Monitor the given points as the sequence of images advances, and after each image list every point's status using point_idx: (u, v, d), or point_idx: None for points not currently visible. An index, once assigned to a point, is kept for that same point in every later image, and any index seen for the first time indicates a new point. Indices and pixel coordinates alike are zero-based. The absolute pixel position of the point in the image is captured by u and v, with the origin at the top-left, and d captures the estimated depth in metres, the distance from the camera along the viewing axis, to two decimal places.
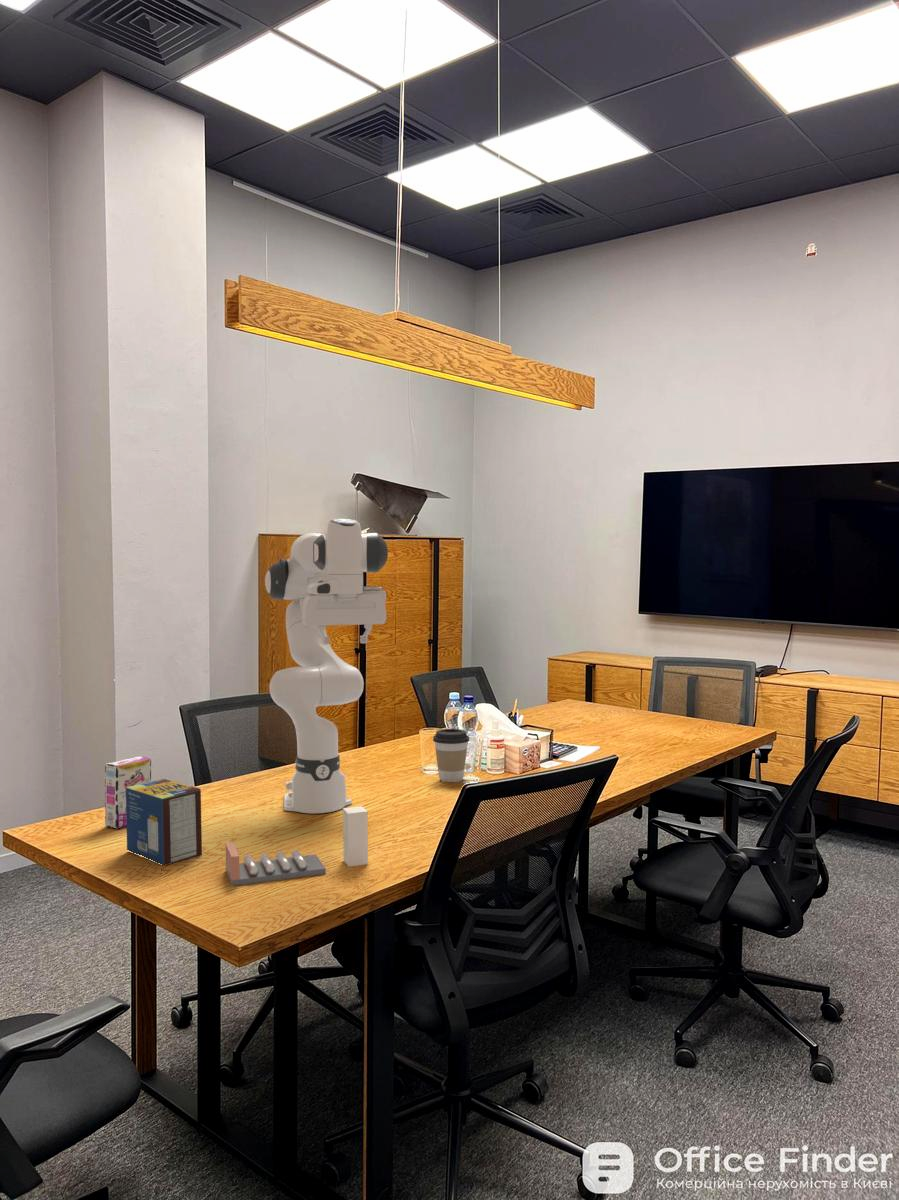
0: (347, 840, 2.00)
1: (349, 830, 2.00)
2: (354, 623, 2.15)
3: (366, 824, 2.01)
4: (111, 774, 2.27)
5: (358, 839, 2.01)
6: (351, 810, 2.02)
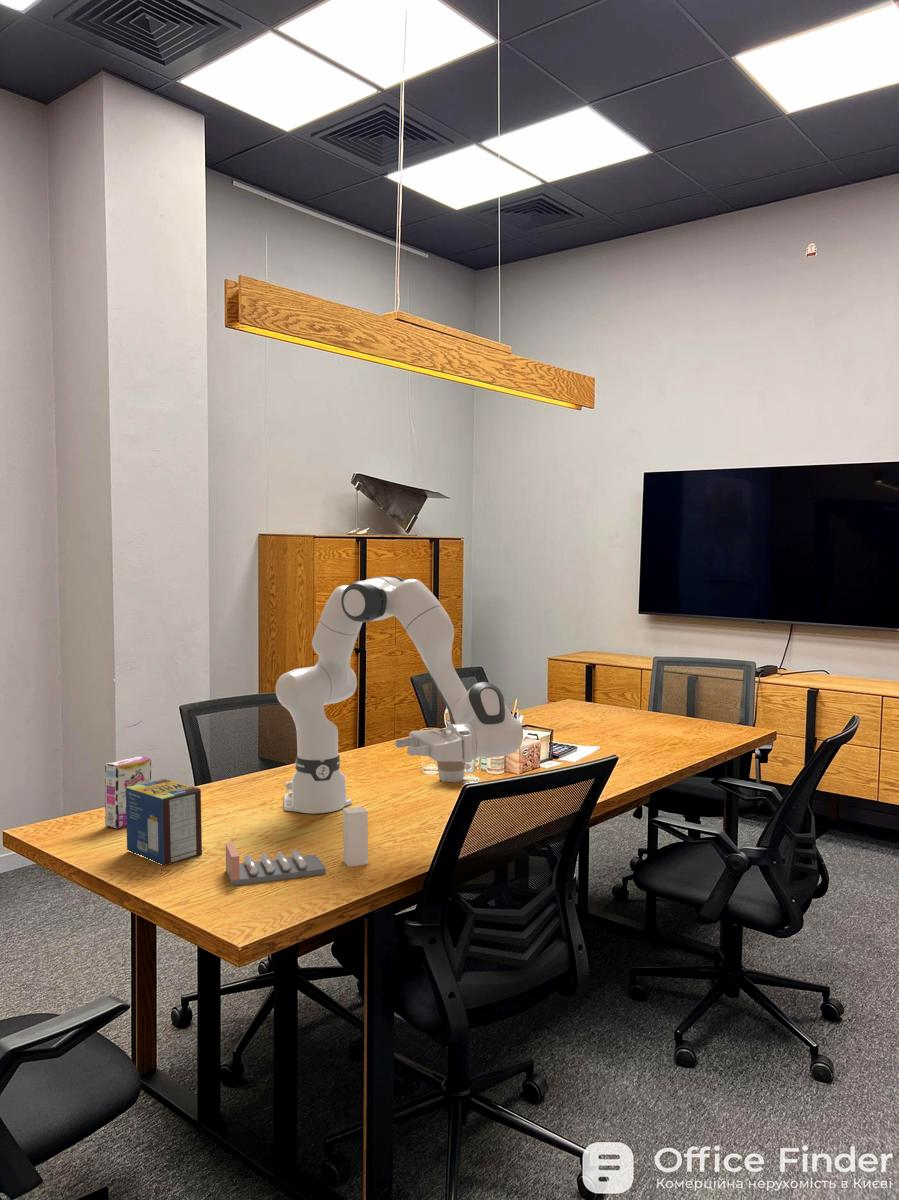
0: (347, 840, 2.00)
1: (349, 830, 2.00)
2: None
3: (366, 824, 2.01)
4: (111, 774, 2.27)
5: (358, 839, 2.01)
6: (351, 810, 2.02)
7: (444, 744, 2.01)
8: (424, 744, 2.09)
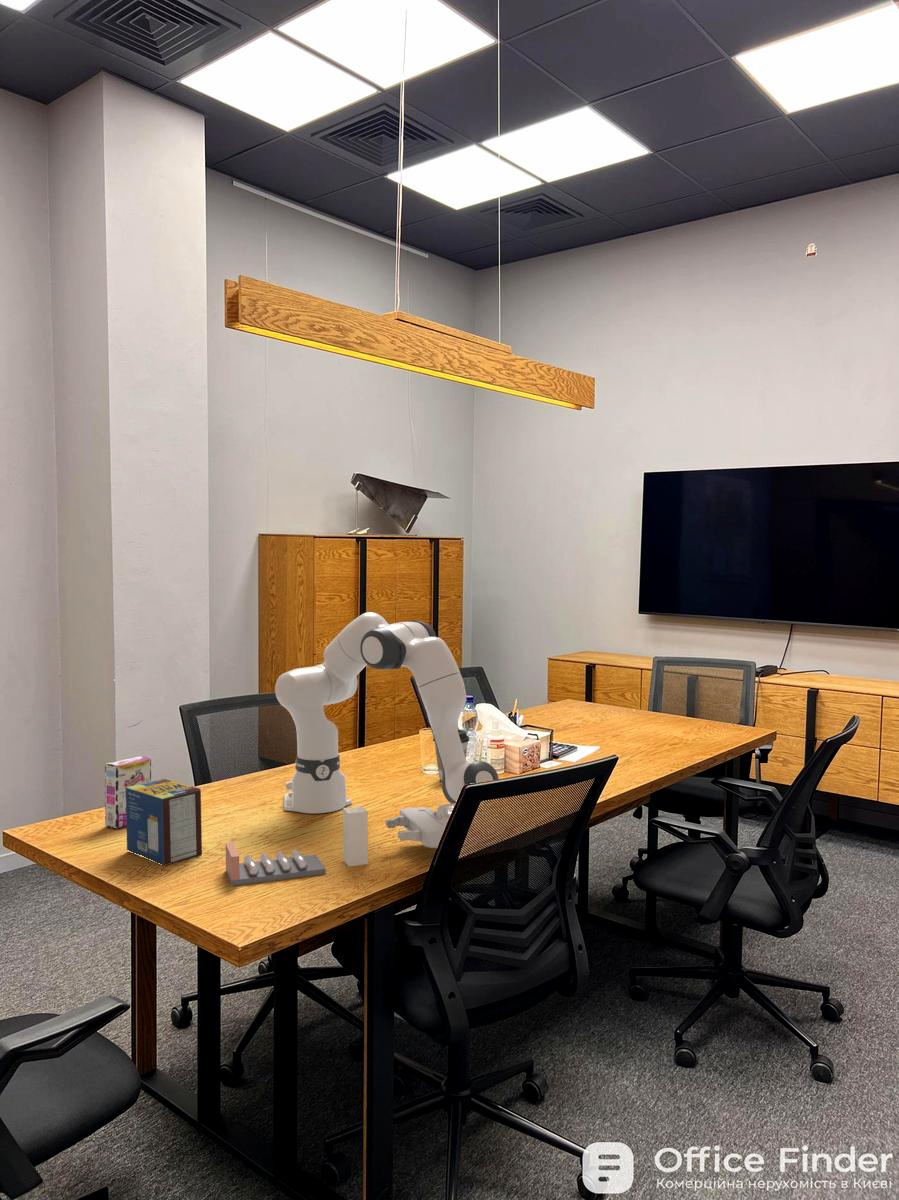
0: (347, 840, 2.00)
1: (349, 830, 2.00)
2: None
3: (366, 824, 2.01)
4: (111, 774, 2.27)
5: (358, 839, 2.01)
6: (351, 810, 2.02)
7: (435, 830, 1.99)
8: (415, 826, 2.08)
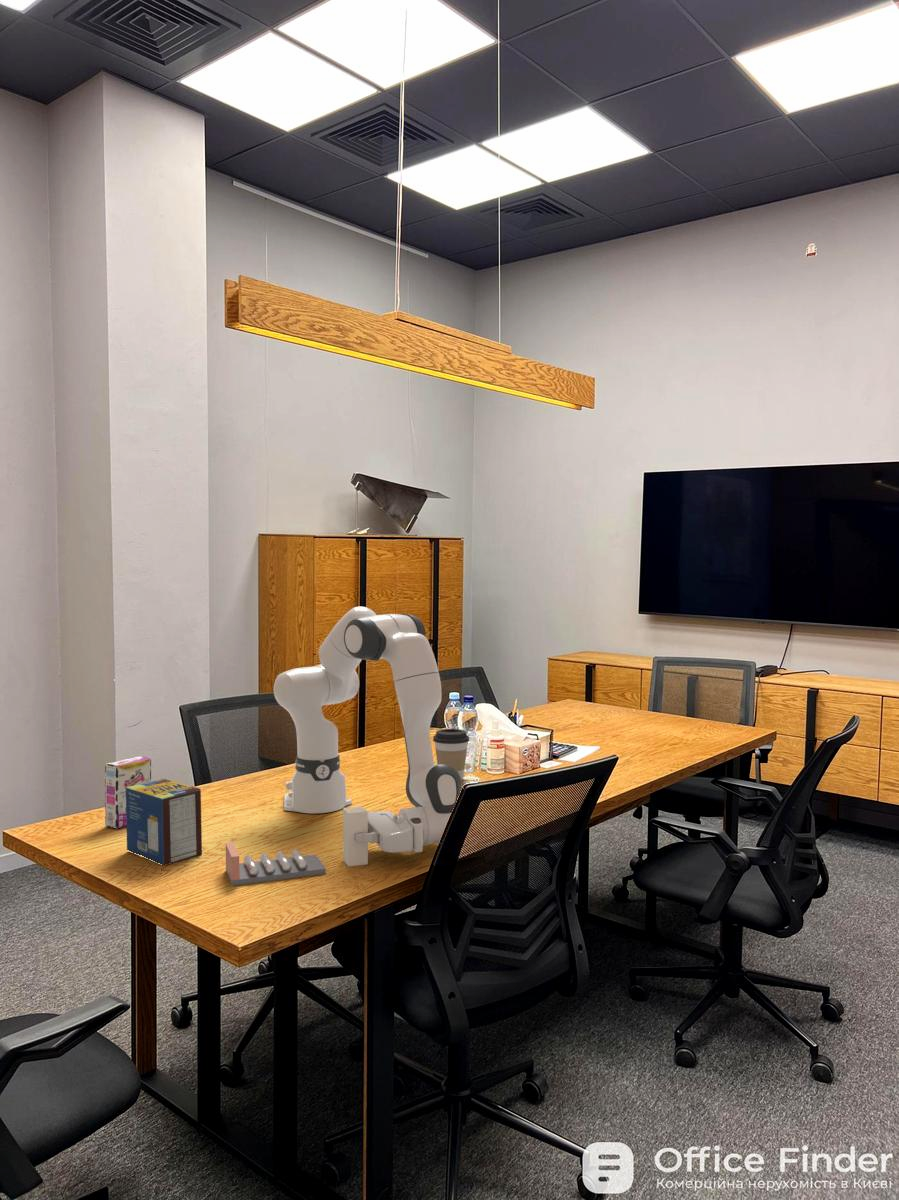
0: (347, 840, 2.00)
1: (349, 830, 2.00)
2: None
3: (366, 824, 2.01)
4: (111, 774, 2.27)
5: None
6: (351, 810, 2.02)
7: (394, 835, 1.96)
8: (374, 830, 2.04)
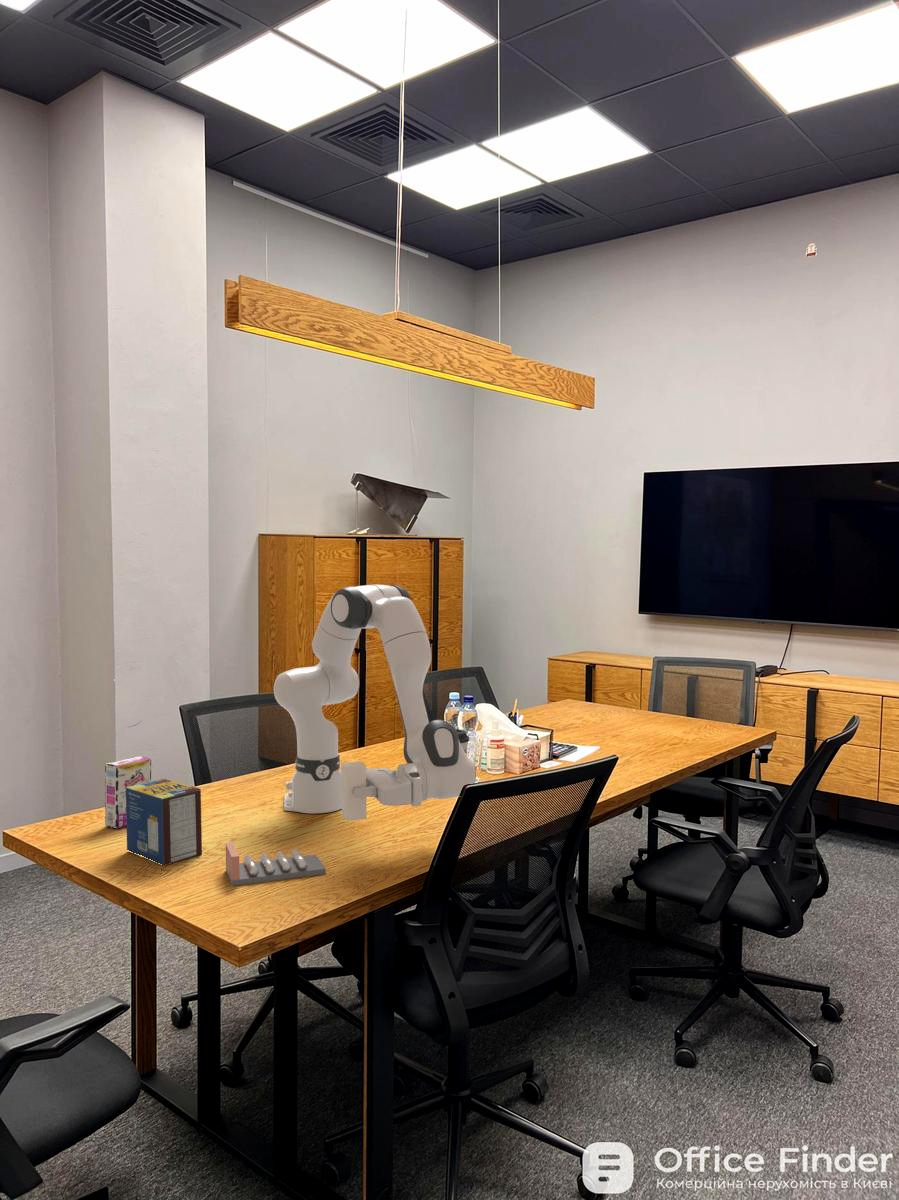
0: (345, 794, 2.00)
1: (347, 784, 1.99)
2: None
3: (364, 778, 2.01)
4: (111, 774, 2.27)
5: None
6: (350, 764, 2.02)
7: (392, 788, 1.95)
8: (373, 785, 2.03)
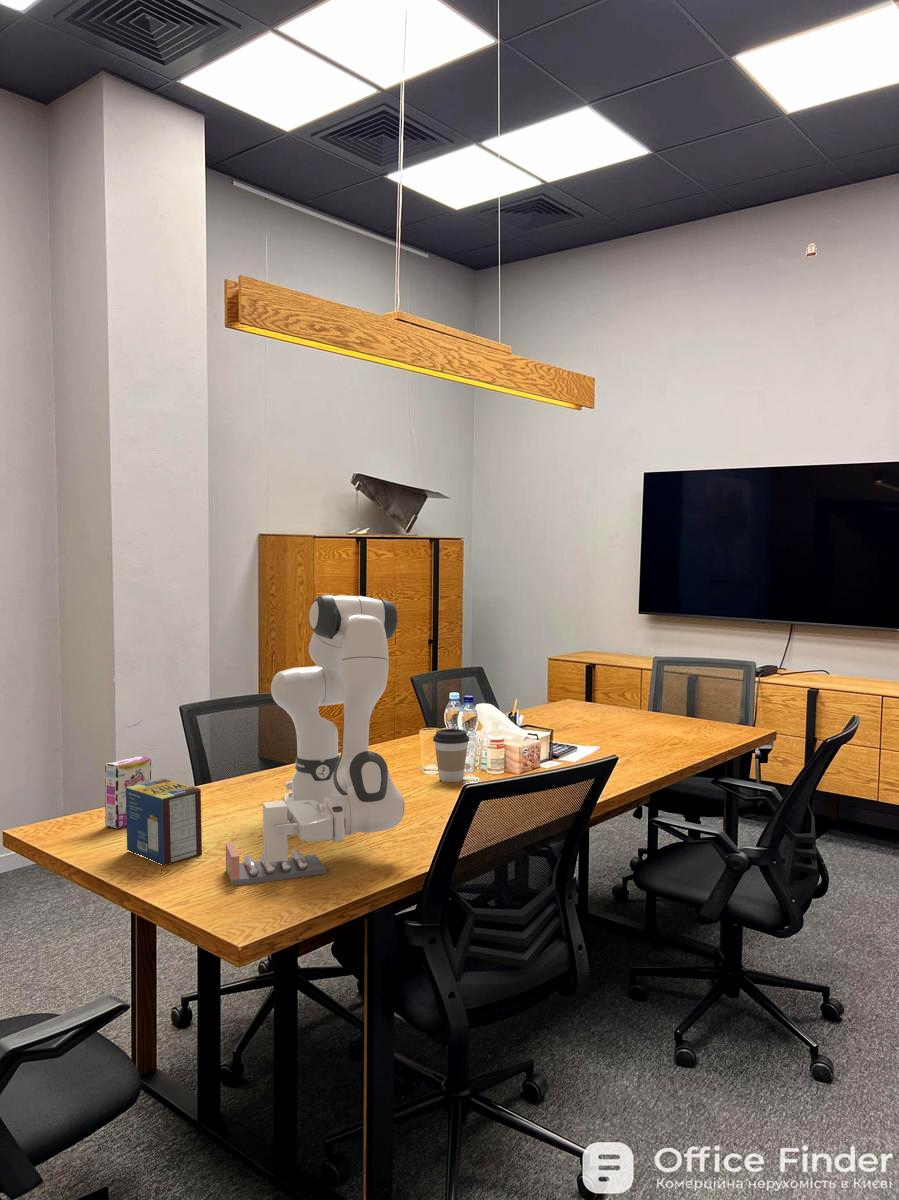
0: (266, 835, 1.94)
1: (267, 825, 1.93)
2: None
3: (286, 819, 1.95)
4: (111, 774, 2.27)
5: (277, 835, 1.94)
6: (271, 804, 1.96)
7: (312, 823, 1.89)
8: (295, 819, 1.97)
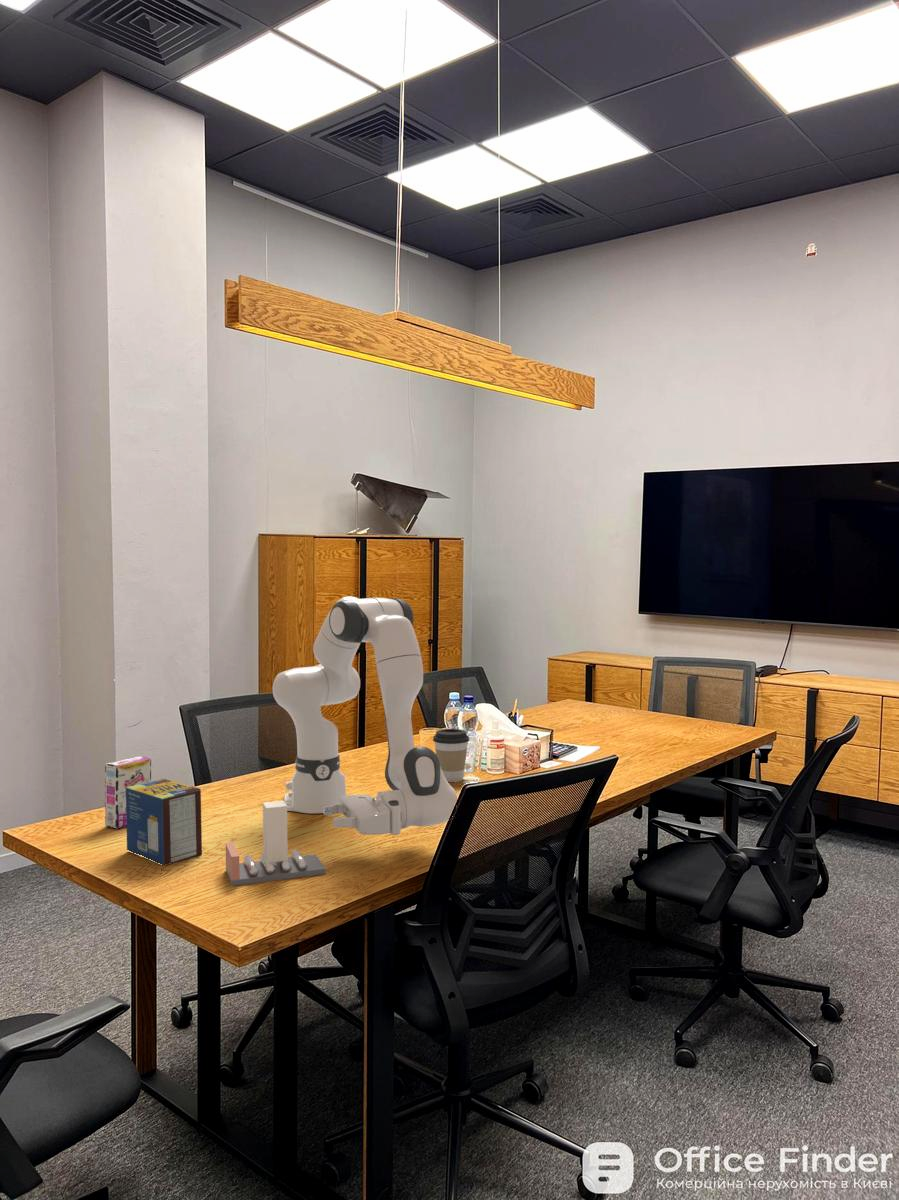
0: (266, 835, 1.94)
1: (267, 825, 1.93)
2: None
3: (285, 819, 1.95)
4: (111, 774, 2.27)
5: (277, 835, 1.94)
6: (271, 804, 1.96)
7: (370, 817, 1.94)
8: (352, 813, 2.02)
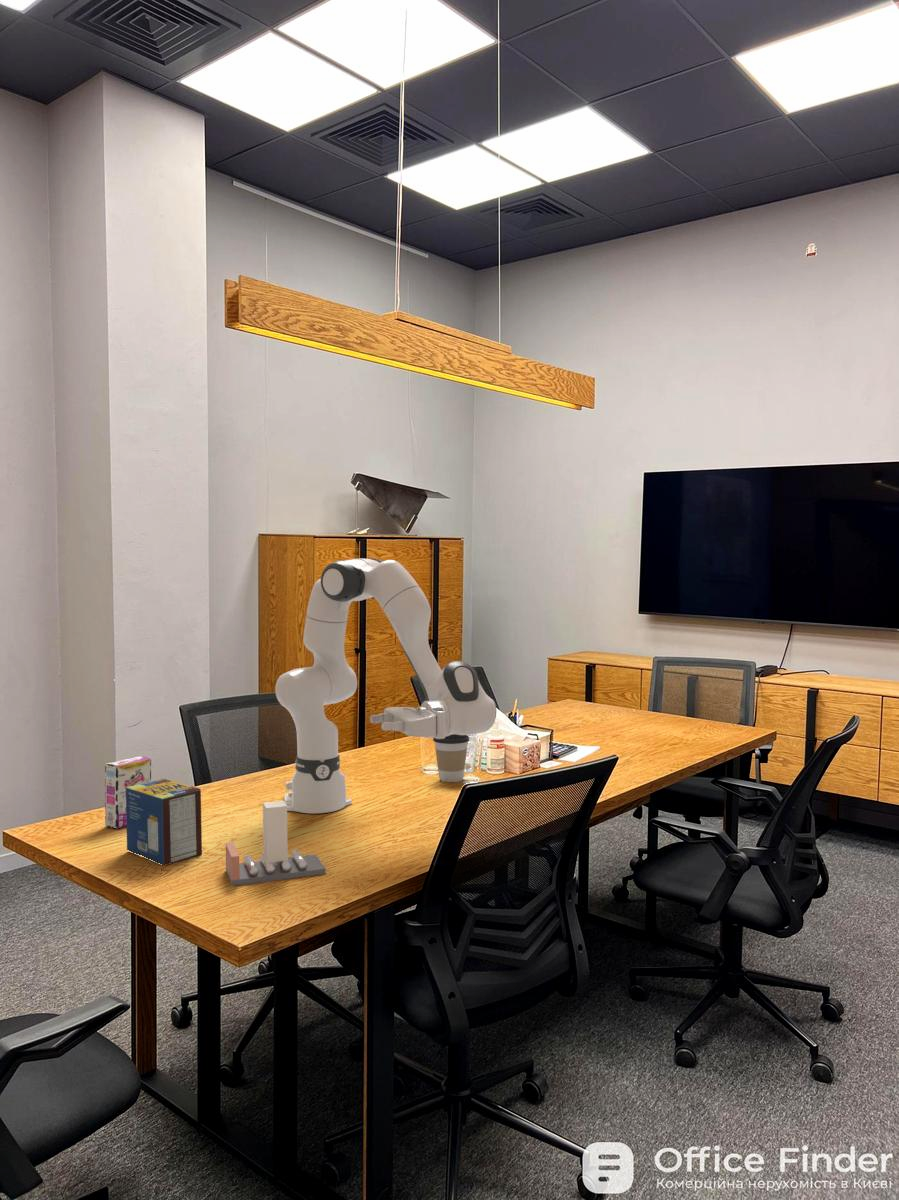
0: (266, 835, 1.94)
1: (267, 825, 1.93)
2: None
3: (285, 819, 1.95)
4: (111, 774, 2.27)
5: (277, 835, 1.94)
6: (271, 804, 1.96)
7: (418, 720, 2.04)
8: (398, 720, 2.12)
